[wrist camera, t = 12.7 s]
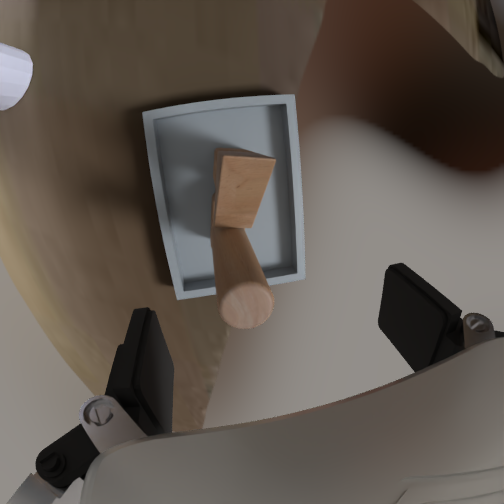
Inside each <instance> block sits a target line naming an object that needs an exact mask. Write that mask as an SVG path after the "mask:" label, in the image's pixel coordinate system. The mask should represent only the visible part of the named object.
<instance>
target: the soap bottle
mask: <svg viewBox="0 0 504 504" xmlns="http://www.w3.org/2000/svg"><path fill="white" fill-rule="evenodd" d="M32 69H33V63H32V61H31V58H30V56H29V54H27V53H26V52H24V51H23V50H20V49H17V48H15V47H12V46H9V45H6V44H3V43H0V110H6V109H8V108H10V107H12V106H14V105H15V104H16V103H17V102H18V101H19V100H20V99H21V98H22V97H23V95H24V93H25V92H26V90H27V88H28V87H29V84H30V80H31V77H32Z"/></svg>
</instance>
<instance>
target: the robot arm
mask: <svg viewBox="0 0 504 504" xmlns="http://www.w3.org/2000/svg"><path fill="white" fill-rule="evenodd" d="M461 313H462V310H460V309H459V308H458V307H457V306H456V305H455V304H453V303H452V302H451V301H450V300H449V299H447V298H446V297H445V296H444V295H443V294H441V293H440V292H439V291H438V290H437V289H435V288H434V287H433V286H431V285H430V284H429V283H428V282H426V281H425V280H424V279H423V278H422V277H420V276H419V275H418V274H416V273H415V272H414V271H413V270H411V269H410V268H409V267H407V266H406V265H405V264H403V263H398V264H393V265H390V266H389V267H388V269H387V270H386V272H385V278H384V286H383V293H382V300H381V306H380V312H379V318H378V325H379V328H380V329H381V330H382V332H383V333H384V334H385V335H386V336H387V338H388V339H389V340H390V341H391V343H392V344H393V345H394V346H395V348H396V349H397V350H398V351H399V353H400V354H401V355H402V356H403V358H404V359H405V360H406V361H407V363H408V364H409V365H410V367H411V368H412V369H413V370H414V372H415V373H413V374H410V375H408V376H406V377H403V378H401V379H398V380H396V381H393V382H390V383H388V384H385V385H383V386H380V387H377V388H374V389H372V390H369V391H366V392H363V393H360V394H357V395H354V396H351V397H348V398H345V399H342V400H338V401H335V402H332V403H328V404H325V405H321V406H317V407H314V408H310V409H306V410H302V411H298V412H295V413H290V414H286V415H281V416H277V417H272V418H267V419H262V420H257V421H251V422H246V423H239V424H234V425H227V426H221V427H214V428H206V429H198V430H189V431H181V432H174V433H172V408H173V381H174V365H173V361H172V358H171V356H170V353H169V350H168V347H167V345H166V342H165V339H164V336H163V333H162V330H161V327H160V324H159V321H158V318H157V315H156V312H155V311H154V310H153V311H151V310H150V309H149V308H148V307H147V308H139V309H134V311H133V314H132V317H131V320H130V324H129V327H128V330H127V334H126V337H125V341H124V344H120V345H119V346H118V348H117V351H116V355H115V358H114V362H113V365H112V369H111V373H110V376H109V380H108V384H107V388H106V392H105V395H99V396H94V397H92V398H90V399H89V400H87V401H86V402H85V403H84V404H83V405H82V407H81V409H80V412H79V420H80V422H81V424H79V425H78V426H77V427H75V428H74V429H72V430H71V431H70V432H68V433H66V434H65V435H64V436H62V437H61V438H59V439H58V440H56V441H55V442H53V443H52V444H50V445H49V446H48V447H46V448H45V449H43V450H42V451H41V452H40V453H39V455H38V457H37V459H36V470H37V472H36V473H35V474H34V475H33V474H32V473H30V475H29V476H28V477H27V478H26V480H25V481H24V482H23V483H22V484H21V486H20V487H19V488H18V489H17V491H16V492H15V493H14V495H13V496H12V497H11V498H10V499H9V501H8V502H7V504H504V332H500V331H494V327H493V324H492V322H491V321H490V319H489V318H487V317H486V316H484V315H482V314H479V313H469V314H467V315H465V316H464V318H463V319H461V318H460V316H461Z"/></svg>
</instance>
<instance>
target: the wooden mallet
mask: <svg viewBox="0 0 504 504" xmlns="http://www.w3.org/2000/svg"><path fill="white" fill-rule="evenodd" d="M275 163H276V159H275V158H272V157H269V156H266V155H263V154H259V153H255V152H252V151H249V150H245V149H234V148H216V149H215V151H214V166H213V179H214V184H215V193H214V194H213V195H212V204H211V229H210V242H211V248H212V254H213V265H214V276H215V286H216V296H217V306H218V312H219V314H220V316H221V318H222V319H223V320H224V321H225V322H226V323H227V324H229V325H230V326H232V327H235V328H239V329H249V328H254V327H256V326H259V325H261V324H262V323H263V322H265V321H266V320H267V319H268V318H269V316H270V315H271V313H272V310H273V307H274V296H273V294H272V292H271V289H270V287H269V285H268V282H267V280H266V278H265V275H264V273H263V271H262V269H261V266H260V264H259V262H258V259H257V257H256V255H255V252H254V250H253V248H252V246H251V243H250V241H249V239H248V236H247V234H246V232H245V228H252V226H253V223H254V220H255V218H256V215H257V212H258V209H259V207H260V204H261V201H262V198H263V196H264V193H265V190H266V187H267V185H268V182H269V179H270V176H271V174H272V171H273V168H274V165H275Z"/></svg>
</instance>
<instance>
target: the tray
mask: <svg viewBox="0 0 504 504" xmlns="http://www.w3.org/2000/svg"><path fill="white" fill-rule="evenodd" d="M142 113H143V122H144V130H145V138H146V145H147V152H148V159H149V166H150V172H151V178H152V184H153V190H154V196H155V201H156V206H157V212H158V217H159V222H160V227H161V232H162V237H163V241H164V246H165V251H166V255H167V259H168V264H169V268H170V272H171V277H172V281H173V285H174V289H175V293H176V297H177V300H180V299H187V298H194V297H201V296H207V295H214V294H216V286H215V276H214V265H213V254H212V248H211V242H210V229H211V204H212V195H213V194H214V193H215V184H214V179H213V166H214V151H215V149H216V148H234V149H245V150H249V151H252V152H255V153H259V154H263V155H266V156H269V157H272V158H275V159H276V163H275V165H274V168H273V171H272V174H271V176H270V179H269V182H268V185H267V187H266V190H265V193H264V196H263V198H262V201H261V204H260V207H259V209H258V212H257V215H256V218H255V220H254V223H253V226H252V228H245V232H246V234H247V236H248V239H249V241H250V243H251V246H252V248H253V250H254V252H255V255H256V257H257V259H258V262H259V264H260V266H261V269H262V271H263V273H264V275H265V278H266V280H267V282H268V285H275V284H281V283H286V282H292V281H298V280H303V279H305V244H304V219H303V218H304V217H303V197H302V181H301V164H300V150H299V138H298V127H297V116H296V105H295V95H267V96H251V97H239V98H228V99H219V100H211V101H203V102H196V103H189V104H183V105H177V106H171V107H166V108H160V109H155V110H150V111H146V112H142Z"/></svg>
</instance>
